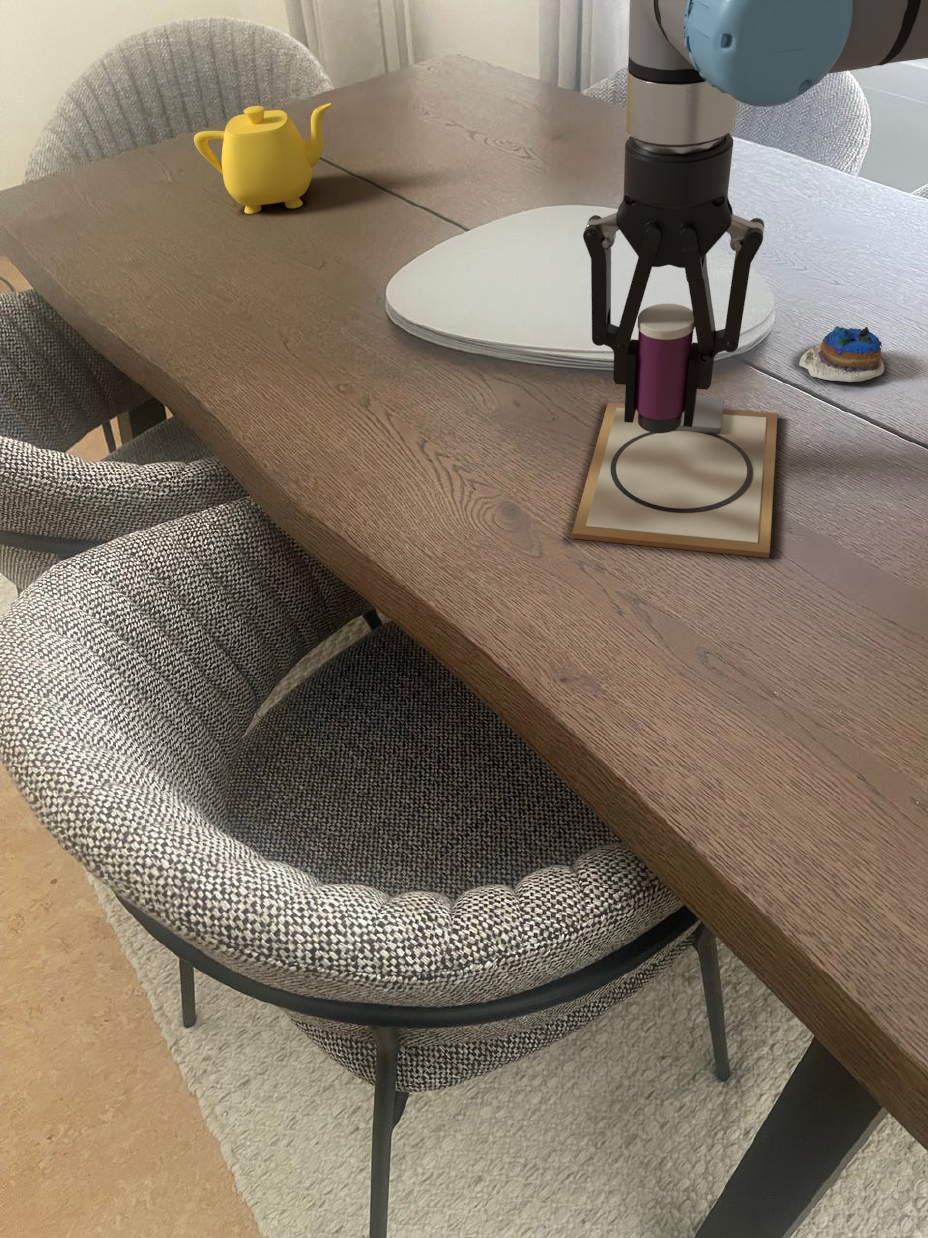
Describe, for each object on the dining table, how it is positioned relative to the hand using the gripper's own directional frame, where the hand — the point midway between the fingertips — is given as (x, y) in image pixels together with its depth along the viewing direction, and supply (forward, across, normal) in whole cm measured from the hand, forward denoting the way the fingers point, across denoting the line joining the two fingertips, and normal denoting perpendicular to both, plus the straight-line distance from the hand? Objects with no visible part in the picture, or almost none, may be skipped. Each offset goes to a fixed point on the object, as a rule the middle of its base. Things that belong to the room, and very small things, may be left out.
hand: (659, 415), depth 82 cm
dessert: (+5, -16, -18) cm, 25 cm away
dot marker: (+1, 0, 0) cm, 1 cm away
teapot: (+5, +62, -57) cm, 84 cm away
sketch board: (+5, -2, +2) cm, 6 cm away
